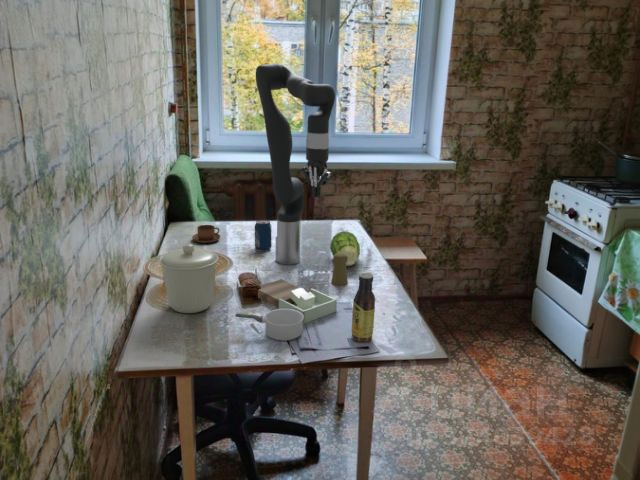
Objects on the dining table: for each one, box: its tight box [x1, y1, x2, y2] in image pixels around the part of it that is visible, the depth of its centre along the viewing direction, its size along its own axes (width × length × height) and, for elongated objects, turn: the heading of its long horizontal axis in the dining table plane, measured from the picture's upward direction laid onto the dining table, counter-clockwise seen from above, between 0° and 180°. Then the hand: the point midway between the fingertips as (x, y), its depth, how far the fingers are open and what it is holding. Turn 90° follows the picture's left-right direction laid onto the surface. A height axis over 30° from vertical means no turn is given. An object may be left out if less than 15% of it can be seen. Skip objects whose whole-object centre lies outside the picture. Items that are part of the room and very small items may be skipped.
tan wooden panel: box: [258, 278, 310, 309], centre depth 192 cm, size 15×12×3 cm
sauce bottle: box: [351, 272, 376, 343], centre depth 163 cm, size 7×6×20 cm
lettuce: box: [329, 231, 361, 267], centre depth 225 cm, size 12×21×11 cm, turn 5°
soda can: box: [254, 219, 272, 252], centre depth 239 cm, size 7×7×12 cm
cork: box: [330, 253, 349, 287], centre depth 205 cm, size 6×6×11 cm
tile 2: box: [297, 291, 316, 310], centre depth 183 cm, size 4×4×2 cm
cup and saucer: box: [191, 224, 221, 244], centre depth 249 cm, size 12×12×6 cm
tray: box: [279, 288, 338, 325], centre depth 183 cm, size 12×14×4 cm
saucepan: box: [234, 308, 304, 341], centre depth 167 cm, size 12×20×6 cm, turn 86°
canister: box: [158, 243, 219, 314], centre depth 181 cm, size 18×18×21 cm
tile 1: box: [290, 287, 307, 305], centre depth 185 cm, size 4×4×2 cm
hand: (316, 196), depth 196 cm, fingers closed
